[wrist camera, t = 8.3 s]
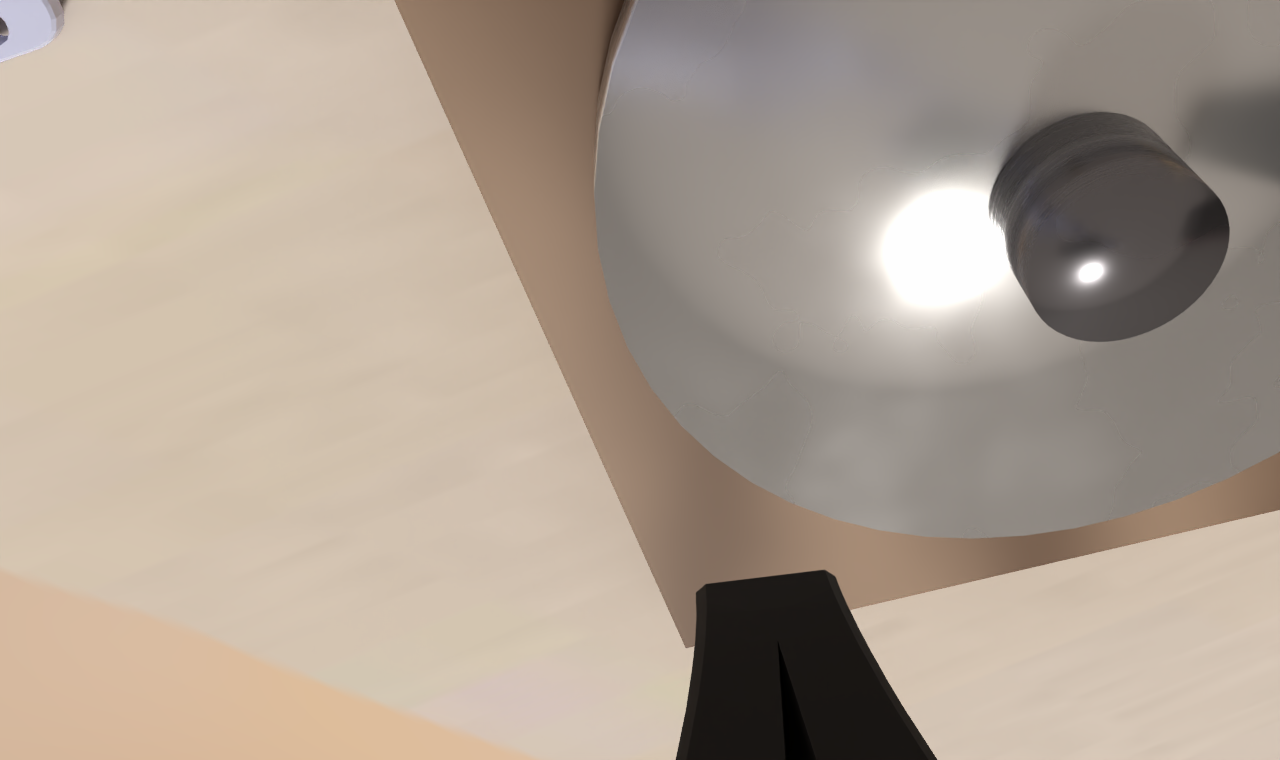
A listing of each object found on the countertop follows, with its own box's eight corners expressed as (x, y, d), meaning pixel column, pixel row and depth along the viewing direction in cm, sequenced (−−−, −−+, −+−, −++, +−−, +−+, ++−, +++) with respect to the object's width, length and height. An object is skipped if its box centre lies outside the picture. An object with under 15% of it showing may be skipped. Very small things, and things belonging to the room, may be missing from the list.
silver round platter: (1372, 453, 21) (1514, 616, 18) (642, 528, 21) (652, 701, 18) (1824, -647, 11) (2303, -722, 8) (499, -474, 12) (468, -483, 9)
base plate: (681, 595, 25) (694, 744, 22) (266, -361, 14) (173, -336, 11) (1473, 405, 22) (1616, 542, 19) (1759, -960, 11) (2210, -1156, 8)
